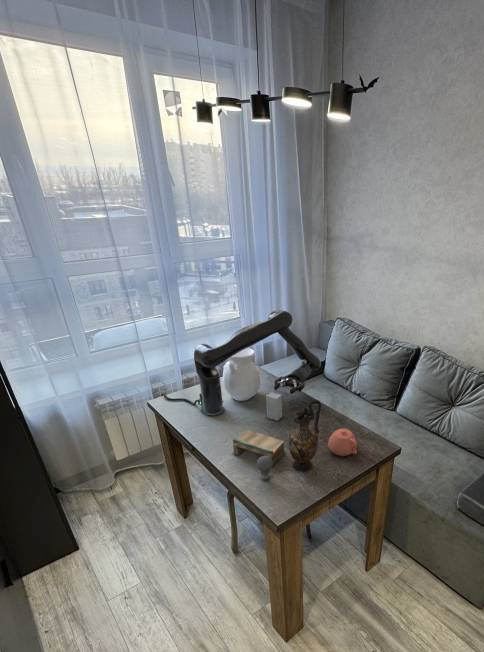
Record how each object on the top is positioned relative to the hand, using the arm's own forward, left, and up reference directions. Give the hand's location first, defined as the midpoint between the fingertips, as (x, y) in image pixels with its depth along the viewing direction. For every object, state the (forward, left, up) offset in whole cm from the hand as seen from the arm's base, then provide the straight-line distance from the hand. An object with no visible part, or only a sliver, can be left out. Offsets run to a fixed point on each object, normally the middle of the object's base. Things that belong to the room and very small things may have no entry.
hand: (282, 390), depth 190 cm
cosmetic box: (0, -9, -11) cm, 14 cm away
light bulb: (+18, -48, -11) cm, 52 cm away
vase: (+28, -35, -11) cm, 46 cm away
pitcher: (-24, +1, -11) cm, 26 cm away
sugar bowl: (+39, -19, -11) cm, 45 cm away
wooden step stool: (+8, -36, -10) cm, 38 cm away
